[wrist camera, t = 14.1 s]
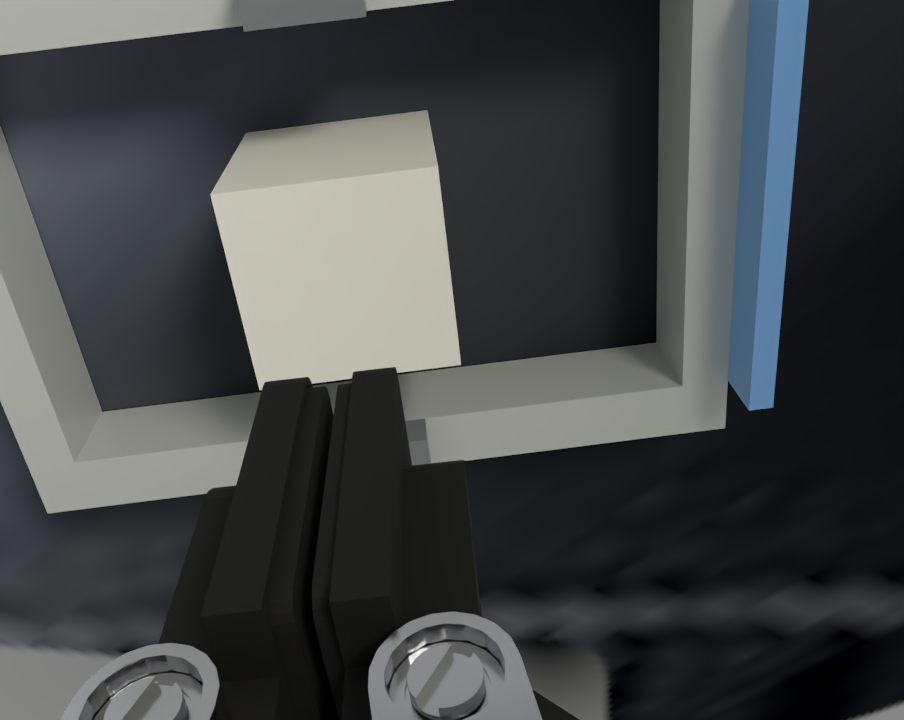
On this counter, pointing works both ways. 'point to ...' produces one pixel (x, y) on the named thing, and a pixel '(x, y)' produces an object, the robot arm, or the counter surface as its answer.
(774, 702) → the counter surface
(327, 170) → the cream matte cube
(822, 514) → the counter surface
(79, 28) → the compartment tray
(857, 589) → the counter surface
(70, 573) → the counter surface
